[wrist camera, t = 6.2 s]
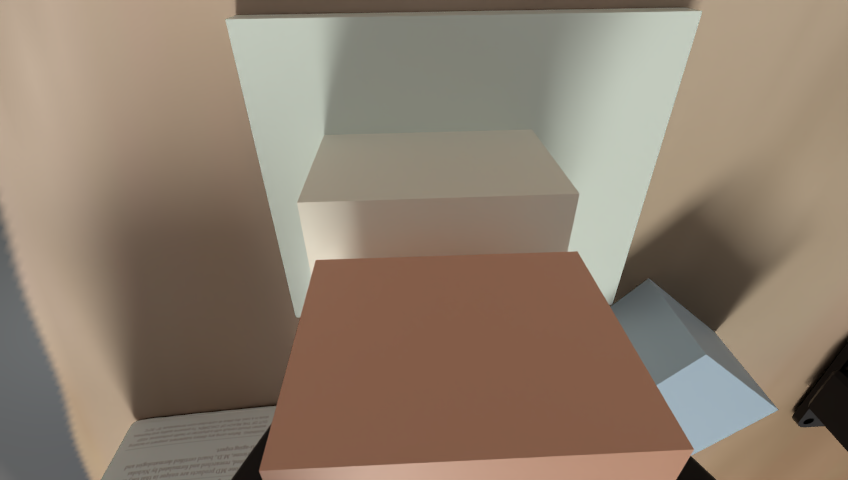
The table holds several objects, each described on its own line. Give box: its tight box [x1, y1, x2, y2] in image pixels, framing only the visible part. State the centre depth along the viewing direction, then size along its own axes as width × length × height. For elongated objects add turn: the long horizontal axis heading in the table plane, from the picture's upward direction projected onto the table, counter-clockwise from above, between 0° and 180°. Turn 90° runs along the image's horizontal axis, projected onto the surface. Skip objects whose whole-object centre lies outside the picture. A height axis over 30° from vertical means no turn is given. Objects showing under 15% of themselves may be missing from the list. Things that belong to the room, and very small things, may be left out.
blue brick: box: [611, 278, 778, 455], centre depth 18 cm, size 5×5×4 cm
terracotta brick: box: [259, 251, 694, 480], centre depth 8 cm, size 5×5×4 cm
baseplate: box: [225, 7, 702, 317], centre depth 14 cm, size 12×10×1 cm
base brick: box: [297, 129, 579, 275], centre depth 13 cm, size 6×6×4 cm
